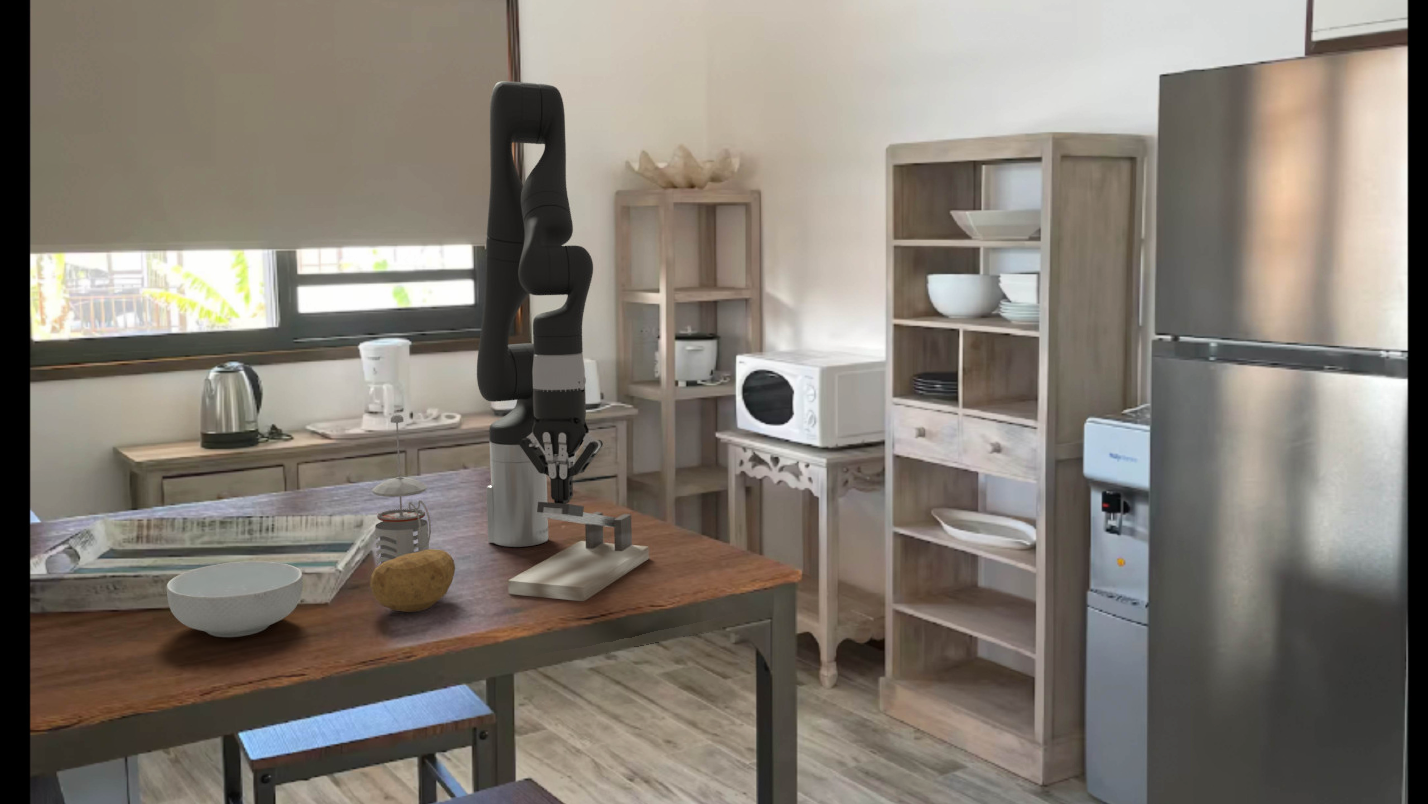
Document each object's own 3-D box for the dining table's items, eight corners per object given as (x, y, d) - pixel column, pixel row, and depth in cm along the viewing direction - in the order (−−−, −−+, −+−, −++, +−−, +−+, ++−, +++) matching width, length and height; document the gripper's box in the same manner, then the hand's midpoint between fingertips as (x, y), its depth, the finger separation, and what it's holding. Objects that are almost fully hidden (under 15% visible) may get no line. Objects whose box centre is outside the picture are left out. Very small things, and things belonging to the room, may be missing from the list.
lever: (536, 517, 185) (538, 501, 186) (595, 525, 205) (596, 511, 205) (567, 519, 184) (569, 503, 184) (624, 528, 203) (625, 513, 203)
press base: (508, 593, 186) (507, 546, 185) (580, 552, 208) (579, 510, 207) (583, 601, 182) (582, 553, 181) (648, 558, 204) (648, 515, 203)
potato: (476, 599, 183) (474, 544, 182) (410, 627, 171) (407, 569, 170) (422, 590, 188) (420, 537, 187) (354, 617, 175) (351, 560, 174)
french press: (414, 564, 202) (408, 407, 199) (456, 578, 194) (449, 415, 191) (358, 576, 196) (350, 414, 192) (398, 591, 187) (391, 422, 184)
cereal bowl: (170, 656, 161) (166, 601, 160) (168, 619, 176) (165, 569, 175) (311, 637, 167) (308, 585, 166) (298, 603, 182) (295, 555, 181)
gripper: (505, 386, 184) (509, 505, 186) (589, 388, 179) (592, 510, 181) (530, 381, 191) (533, 496, 193) (611, 383, 186) (614, 500, 188)
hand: (562, 502), depth 187 cm, fingers closed
